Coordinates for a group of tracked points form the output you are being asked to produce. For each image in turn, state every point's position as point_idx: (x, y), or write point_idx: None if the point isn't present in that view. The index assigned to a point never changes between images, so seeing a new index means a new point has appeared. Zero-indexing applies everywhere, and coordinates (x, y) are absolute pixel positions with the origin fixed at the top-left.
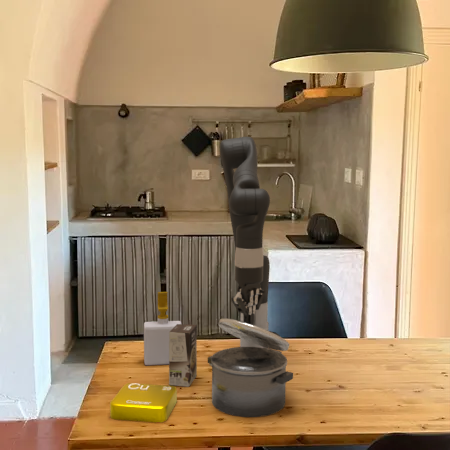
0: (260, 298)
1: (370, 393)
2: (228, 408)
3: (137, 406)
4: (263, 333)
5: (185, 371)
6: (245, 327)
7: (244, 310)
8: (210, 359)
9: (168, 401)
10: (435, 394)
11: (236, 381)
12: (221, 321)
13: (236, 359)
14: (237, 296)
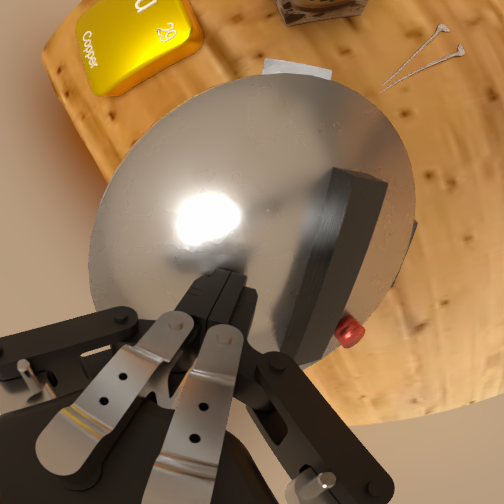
0: (283, 467)
1: (398, 366)
2: None
3: (82, 59)
4: None
5: (279, 4)
6: None
7: (103, 363)
8: (263, 70)
9: (118, 82)
10: (406, 413)
11: None
12: (126, 155)
13: None
14: (5, 395)
